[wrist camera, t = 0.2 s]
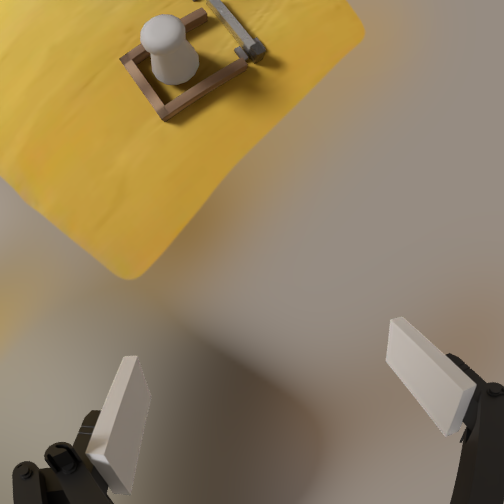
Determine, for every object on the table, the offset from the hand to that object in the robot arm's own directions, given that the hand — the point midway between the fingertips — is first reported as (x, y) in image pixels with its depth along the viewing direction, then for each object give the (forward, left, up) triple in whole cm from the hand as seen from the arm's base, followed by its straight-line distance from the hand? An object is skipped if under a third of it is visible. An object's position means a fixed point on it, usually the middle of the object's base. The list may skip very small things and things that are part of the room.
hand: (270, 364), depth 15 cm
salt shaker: (-24, -4, -28) cm, 37 cm away
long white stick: (-27, +4, -27) cm, 39 cm away
